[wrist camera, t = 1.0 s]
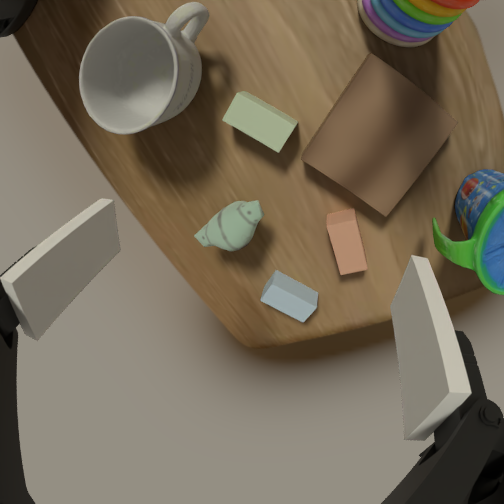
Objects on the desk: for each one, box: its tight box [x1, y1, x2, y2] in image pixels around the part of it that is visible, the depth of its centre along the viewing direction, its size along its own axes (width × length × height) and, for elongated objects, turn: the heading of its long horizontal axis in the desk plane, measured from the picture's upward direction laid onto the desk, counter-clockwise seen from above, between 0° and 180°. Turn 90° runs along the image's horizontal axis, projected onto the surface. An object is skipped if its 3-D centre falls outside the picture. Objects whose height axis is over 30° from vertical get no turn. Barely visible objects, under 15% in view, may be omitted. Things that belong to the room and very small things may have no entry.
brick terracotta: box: [327, 208, 368, 275], centre depth 33 cm, size 6×3×3 cm, turn 22°
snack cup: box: [432, 169, 504, 295], centre depth 24 cm, size 16×10×10 cm
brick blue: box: [260, 270, 318, 322], centre depth 38 cm, size 6×3×3 cm, turn 64°
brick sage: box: [223, 91, 298, 153], centre depth 28 cm, size 6×3×3 cm, turn 61°
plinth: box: [301, 53, 458, 217], centre depth 26 cm, size 10×12×2 cm
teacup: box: [79, 2, 209, 134], centre depth 24 cm, size 14×11×8 cm
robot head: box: [194, 200, 264, 251], centre depth 32 cm, size 8×4×7 cm, turn 124°
